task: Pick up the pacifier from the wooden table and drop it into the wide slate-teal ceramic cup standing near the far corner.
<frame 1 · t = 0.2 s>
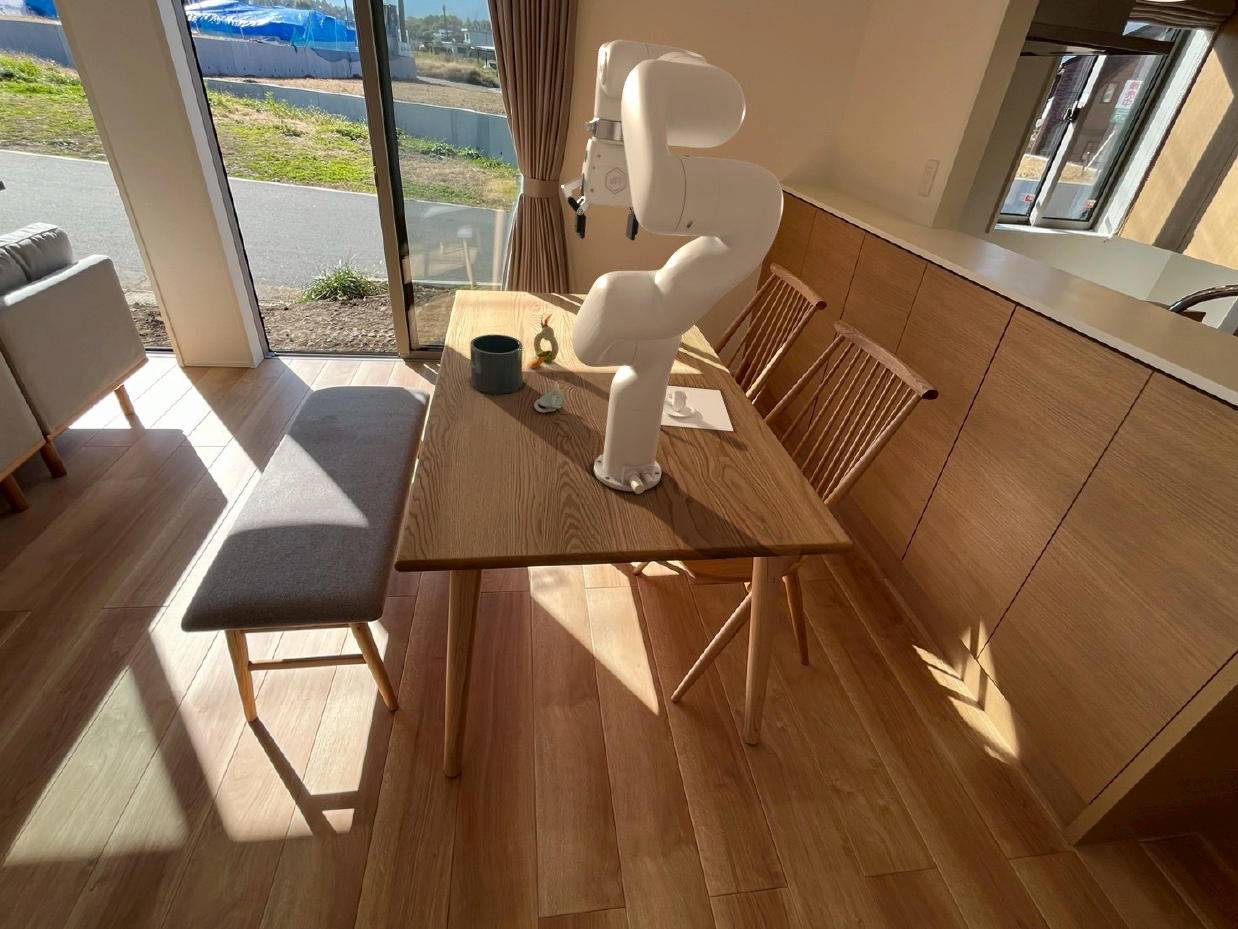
hand: (605, 237, 110), 36 cm above the table, tool pointing down, fingers open, 9 cm apart
cup: (496, 383, 136), on the table
teacup and saucer: (683, 406, 137), on the table
pacifier: (547, 408, 129), on the table
rattle: (538, 362, 149), on the table
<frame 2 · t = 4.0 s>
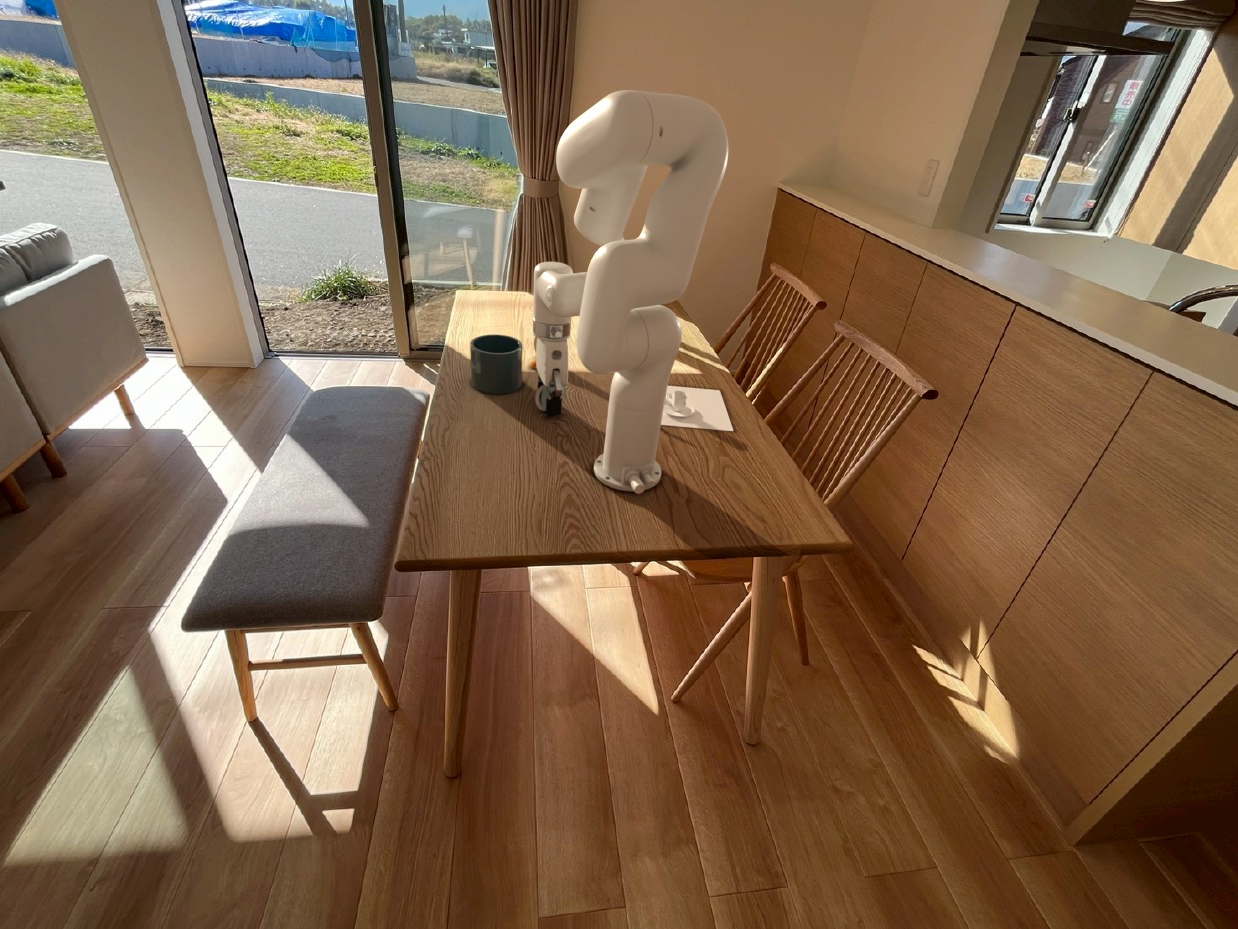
hand: (549, 406, 128), 1 cm above the table, tool pointing down, fingers closed on pacifier, 7 cm apart
pacifier: (548, 399, 129), point 2 cm above the table, touching gripper
everything else where it was.
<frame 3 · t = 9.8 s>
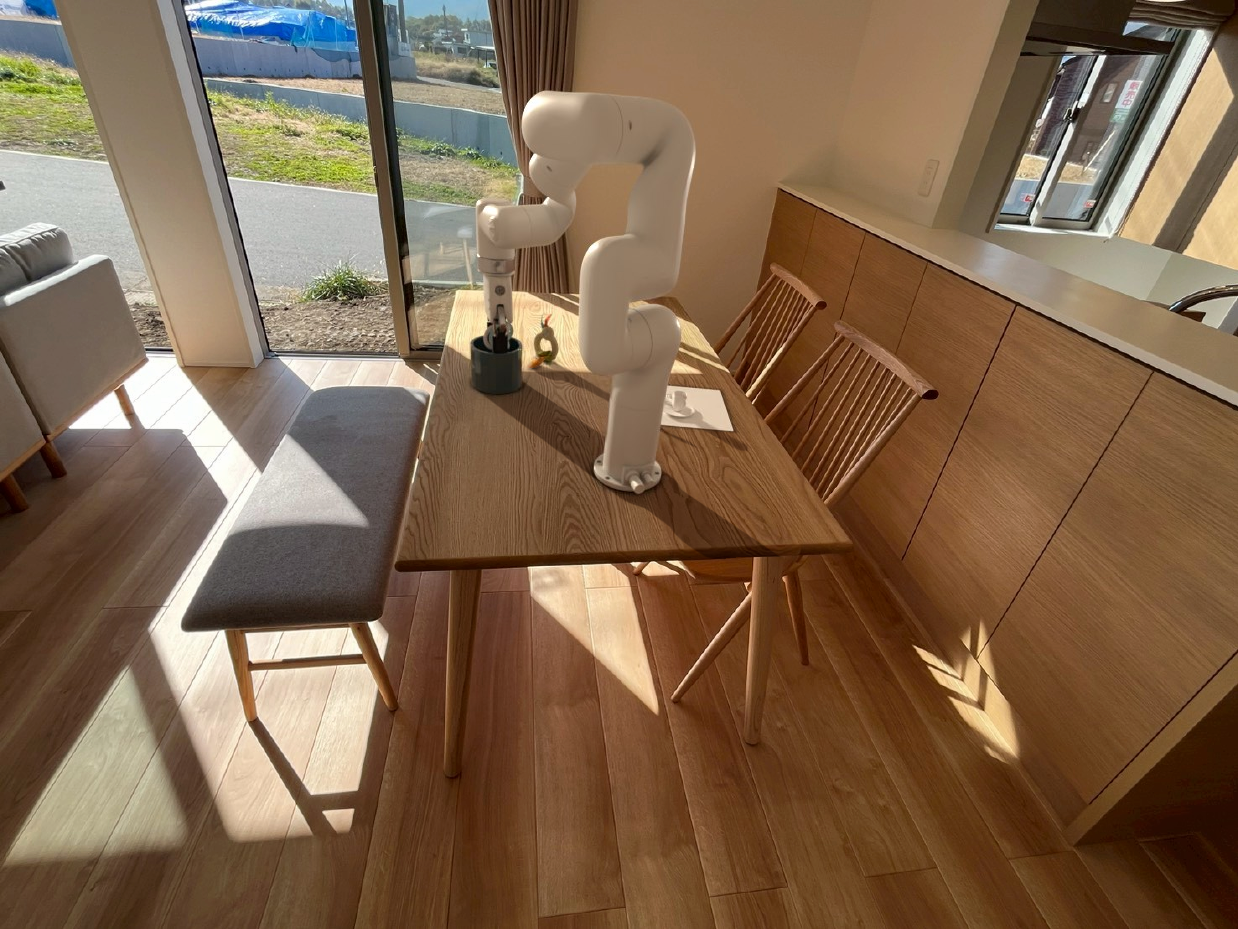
hand: (497, 345, 131), 9 cm above the table, tool pointing down, fingers closed on pacifier, 7 cm apart
pacifier: (497, 339, 132), point 10 cm above the table, touching gripper
everything else where it was.
when the fingers open (12 cm above the table, at t = 32.6 s): pacifier drops 12 cm, resting on cup.
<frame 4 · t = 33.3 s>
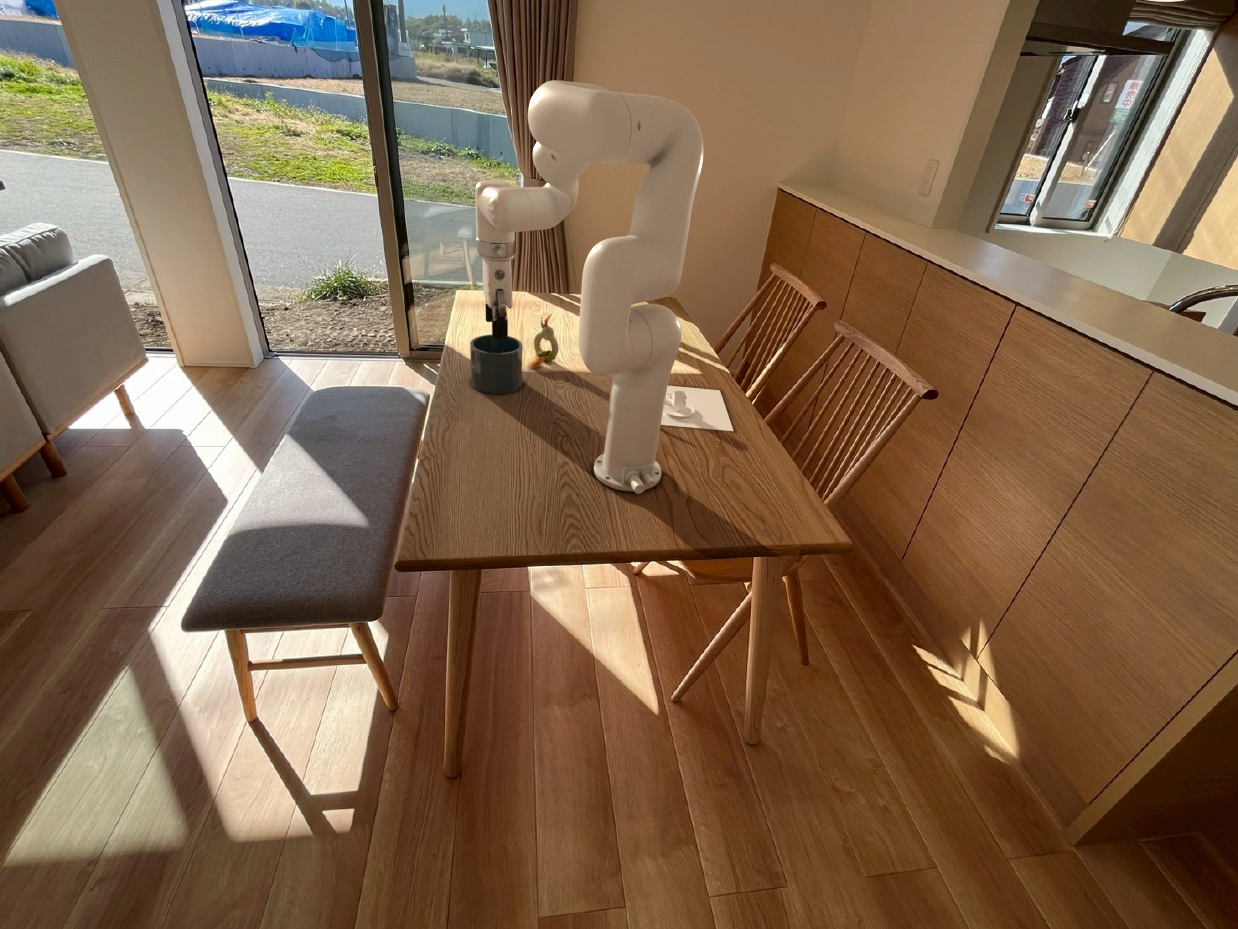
hand: (496, 329, 129), 13 cm above the table, tool pointing down, fingers open, 9 cm apart
cup: (496, 383, 136), on the table, touching pacifier
pacifier: (496, 379, 136), point 1 cm above the table, touching cup
everything else where it was.
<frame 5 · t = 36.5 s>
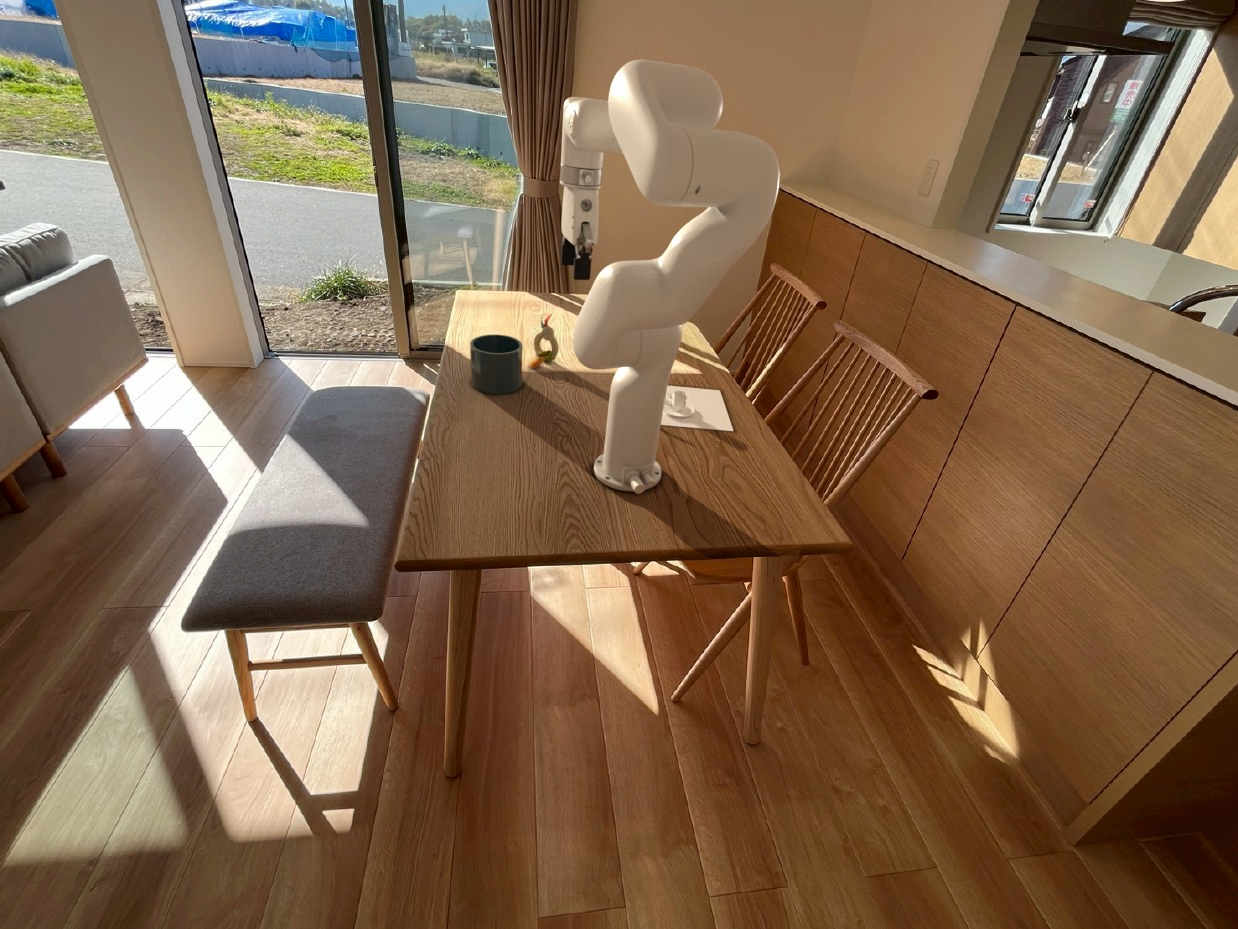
hand: (575, 271, 118), 28 cm above the table, tool pointing down, fingers open, 9 cm apart
nothing on the table moved.
at the end: pacifier inside the target area in the cup (0.5 cm from its centre), point 0.6 cm above the cup's base; the gripper is holding nothing; cup tilted 0° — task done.
